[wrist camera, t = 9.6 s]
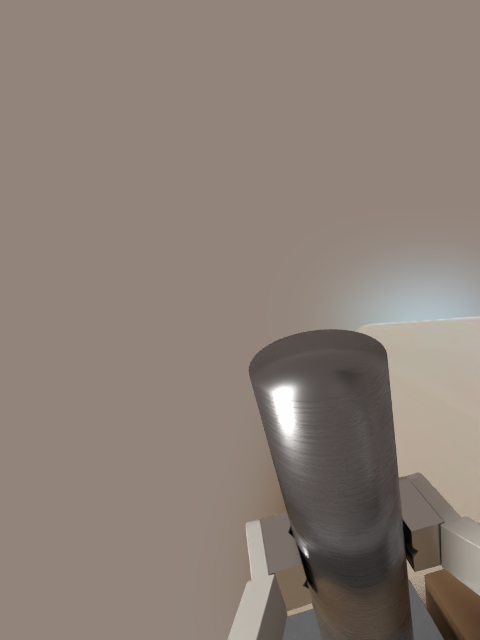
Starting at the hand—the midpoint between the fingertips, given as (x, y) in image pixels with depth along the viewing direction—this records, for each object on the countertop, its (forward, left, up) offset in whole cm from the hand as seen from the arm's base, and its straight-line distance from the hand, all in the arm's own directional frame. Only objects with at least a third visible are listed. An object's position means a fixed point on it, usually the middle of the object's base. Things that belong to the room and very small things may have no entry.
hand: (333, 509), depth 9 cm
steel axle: (0, +1, -10) cm, 10 cm away
